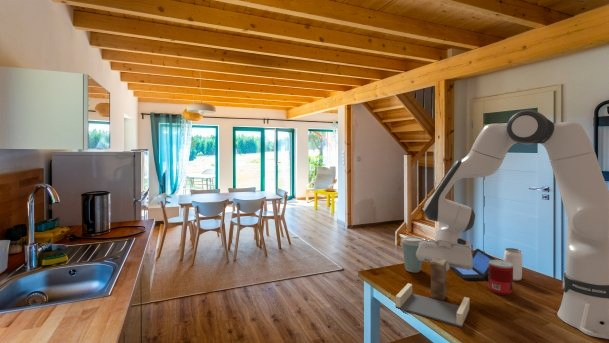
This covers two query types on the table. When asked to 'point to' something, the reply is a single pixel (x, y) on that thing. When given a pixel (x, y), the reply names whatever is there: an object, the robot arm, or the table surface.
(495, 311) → the table surface
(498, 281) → the canned food
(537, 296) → the table surface
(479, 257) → the handheld game console
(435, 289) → the walnut block
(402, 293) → the rubber mat with end rails
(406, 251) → the disposable coffee cup
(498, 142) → the robot arm
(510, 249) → the can
